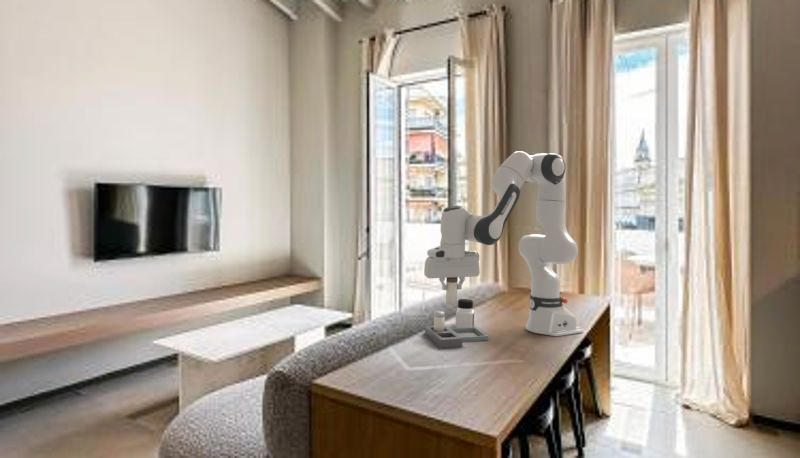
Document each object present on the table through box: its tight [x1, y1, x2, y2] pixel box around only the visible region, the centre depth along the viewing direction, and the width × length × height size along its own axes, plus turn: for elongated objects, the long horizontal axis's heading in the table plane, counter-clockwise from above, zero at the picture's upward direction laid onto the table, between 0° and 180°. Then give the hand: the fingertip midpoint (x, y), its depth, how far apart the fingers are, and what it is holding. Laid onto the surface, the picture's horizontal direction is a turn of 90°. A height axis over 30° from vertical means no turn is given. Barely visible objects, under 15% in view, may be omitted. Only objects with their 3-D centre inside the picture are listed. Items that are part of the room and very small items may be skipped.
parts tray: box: [449, 326, 489, 343], centre depth 185 cm, size 11×12×2 cm
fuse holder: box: [420, 325, 467, 350], centre depth 179 cm, size 20×10×4 cm, turn 15°
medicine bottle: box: [454, 298, 475, 328], centre depth 199 cm, size 7×7×12 cm
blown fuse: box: [445, 277, 459, 306], centre depth 175 cm, size 4×4×10 cm
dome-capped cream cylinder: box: [433, 310, 446, 331], centre depth 183 cm, size 4×4×10 cm
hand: (451, 289), depth 175 cm, fingers closed on blown fuse, 4 cm apart
